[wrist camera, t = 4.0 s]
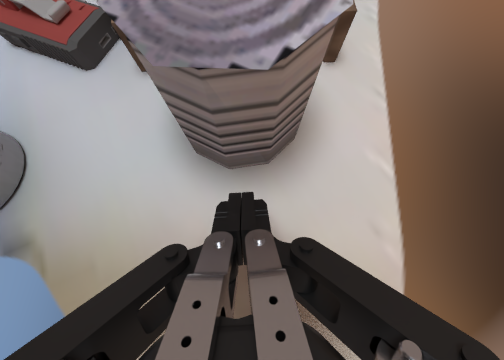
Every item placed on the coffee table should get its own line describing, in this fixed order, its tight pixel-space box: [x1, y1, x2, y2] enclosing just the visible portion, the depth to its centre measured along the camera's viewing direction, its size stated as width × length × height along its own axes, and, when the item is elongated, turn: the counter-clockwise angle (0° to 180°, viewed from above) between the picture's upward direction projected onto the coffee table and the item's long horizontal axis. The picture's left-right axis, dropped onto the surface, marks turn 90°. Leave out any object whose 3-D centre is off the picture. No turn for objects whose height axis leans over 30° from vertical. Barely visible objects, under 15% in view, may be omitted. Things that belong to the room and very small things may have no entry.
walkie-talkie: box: [0, 0, 120, 71], centre depth 23 cm, size 9×4×20 cm
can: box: [97, 0, 353, 169], centre depth 15 cm, size 11×11×12 cm
